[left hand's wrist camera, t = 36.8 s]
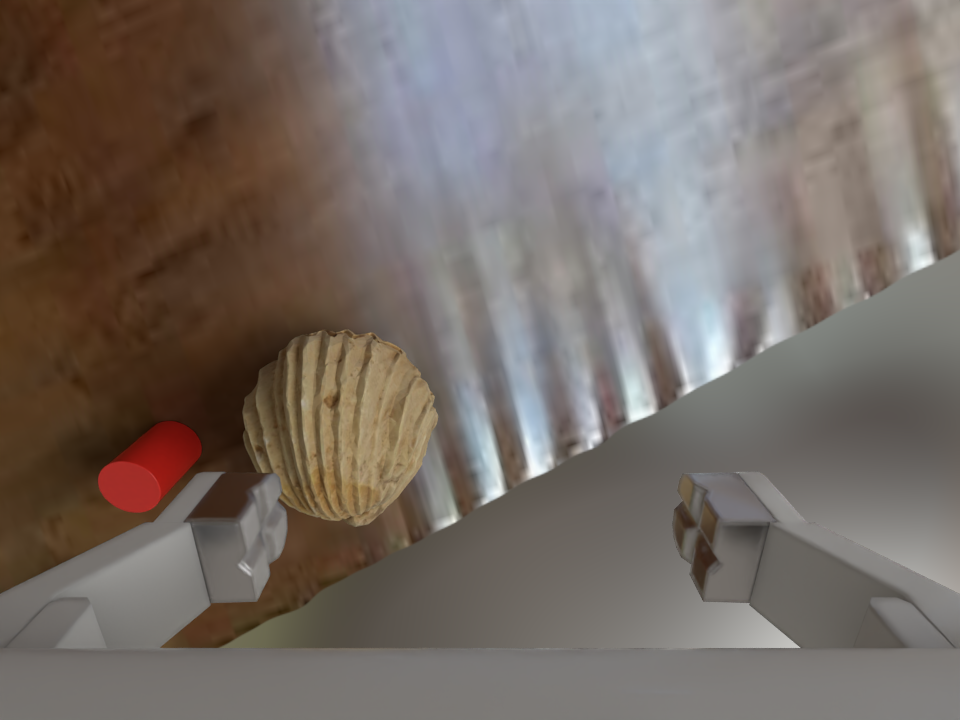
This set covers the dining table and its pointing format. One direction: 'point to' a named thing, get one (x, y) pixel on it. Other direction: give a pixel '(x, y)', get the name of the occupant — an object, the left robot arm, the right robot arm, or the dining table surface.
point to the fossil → (339, 424)
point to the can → (150, 467)
